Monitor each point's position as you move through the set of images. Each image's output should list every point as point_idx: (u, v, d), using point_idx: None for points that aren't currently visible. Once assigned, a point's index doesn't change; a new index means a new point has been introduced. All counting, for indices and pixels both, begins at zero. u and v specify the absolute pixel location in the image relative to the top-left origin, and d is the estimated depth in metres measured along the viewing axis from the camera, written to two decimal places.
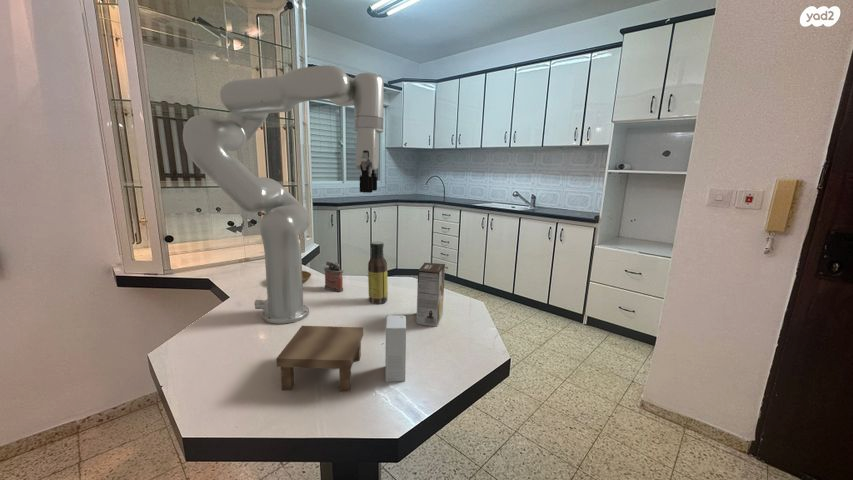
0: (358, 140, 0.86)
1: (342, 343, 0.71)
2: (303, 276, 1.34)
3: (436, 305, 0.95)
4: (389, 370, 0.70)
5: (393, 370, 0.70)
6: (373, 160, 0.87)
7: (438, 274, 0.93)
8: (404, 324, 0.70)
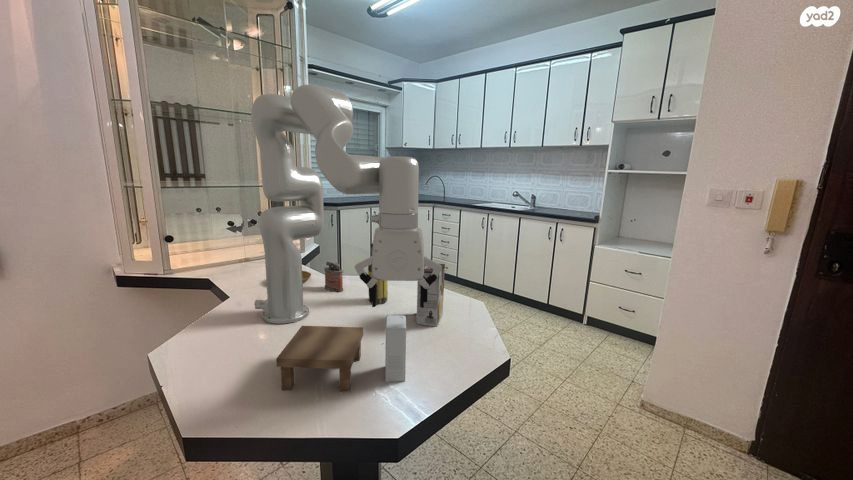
0: (422, 245, 0.66)
1: (342, 343, 0.71)
2: (303, 276, 1.34)
3: (436, 305, 0.95)
4: (389, 370, 0.70)
5: (393, 370, 0.70)
6: None
7: None
8: (404, 324, 0.70)
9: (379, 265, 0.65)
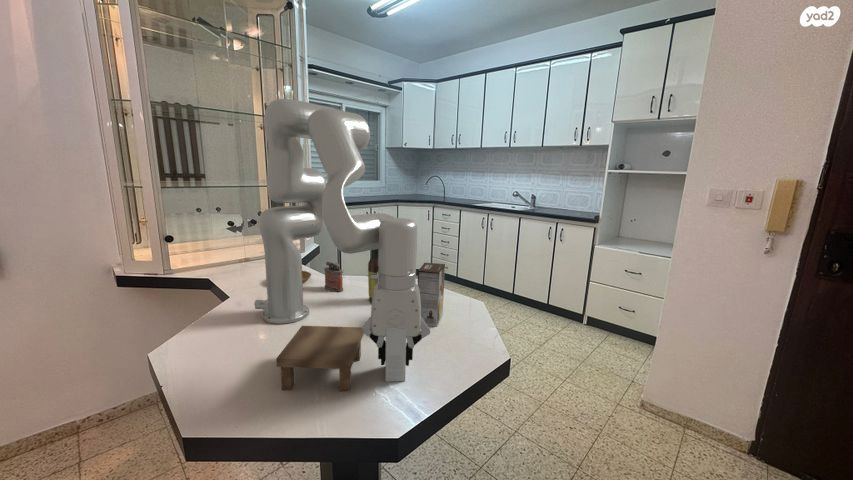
0: (419, 303, 0.68)
1: (342, 343, 0.71)
2: (303, 276, 1.34)
3: (436, 305, 0.95)
4: (389, 370, 0.70)
5: (393, 370, 0.70)
6: None
7: (438, 274, 0.93)
8: None
9: (377, 322, 0.68)
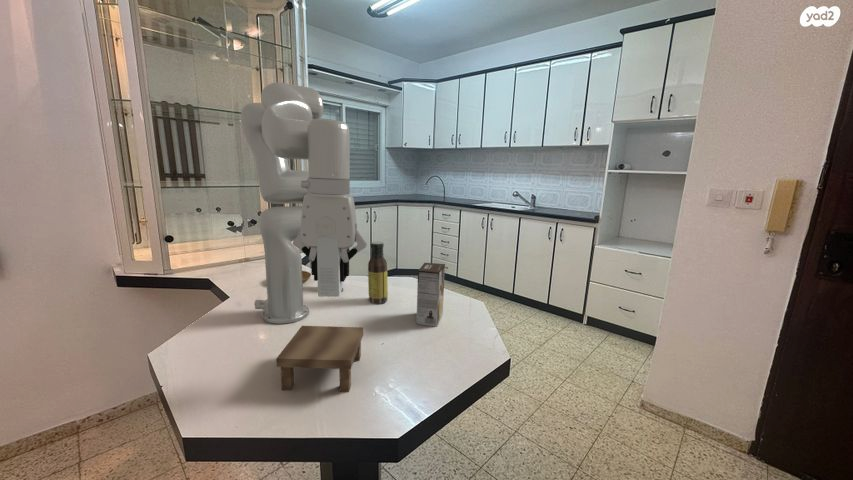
0: (352, 212, 0.65)
1: (342, 343, 0.71)
2: (303, 276, 1.34)
3: (436, 305, 0.95)
4: (322, 284, 0.66)
5: (326, 284, 0.66)
6: None
7: (438, 274, 0.93)
8: None
9: (307, 231, 0.64)
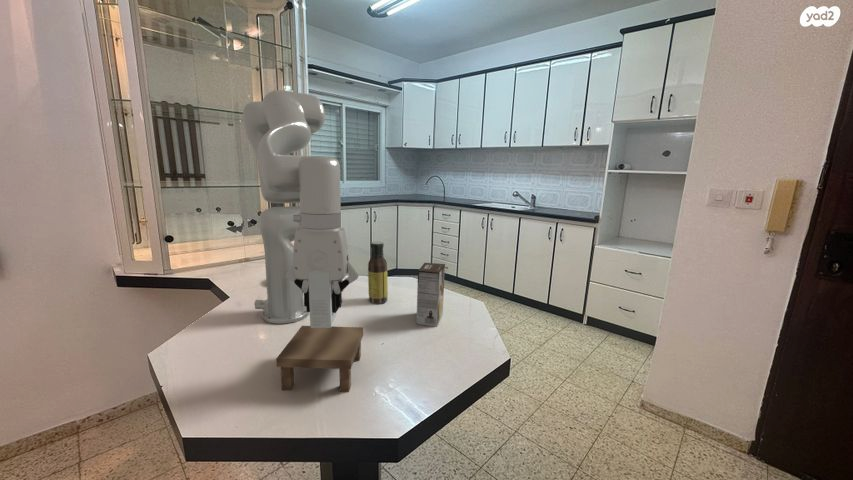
0: (343, 245, 0.66)
1: (342, 343, 0.71)
2: None
3: (436, 305, 0.95)
4: (314, 316, 0.67)
5: (318, 316, 0.67)
6: None
7: (438, 274, 0.93)
8: None
9: (299, 265, 0.65)
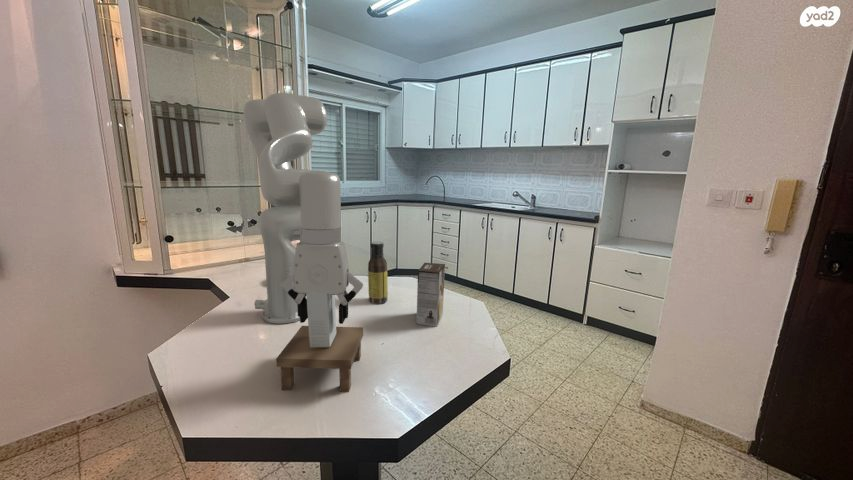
0: (343, 260, 0.66)
1: (342, 343, 0.71)
2: None
3: (436, 305, 0.95)
4: (313, 336, 0.68)
5: (317, 335, 0.68)
6: None
7: (438, 274, 0.93)
8: None
9: (300, 279, 0.66)
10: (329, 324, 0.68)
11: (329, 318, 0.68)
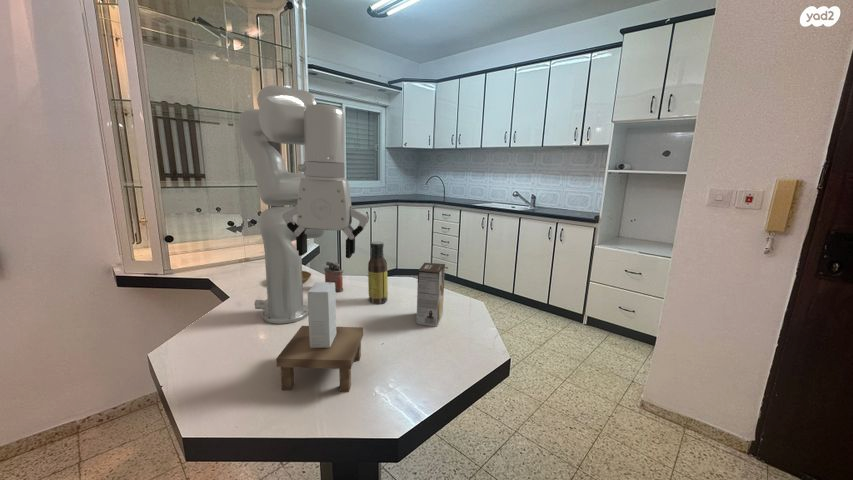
0: (346, 195, 0.67)
1: (342, 343, 0.71)
2: (303, 276, 1.34)
3: (436, 305, 0.95)
4: (313, 336, 0.68)
5: (317, 336, 0.68)
6: None
7: (438, 274, 0.93)
8: (328, 289, 0.68)
9: (303, 213, 0.67)
10: (329, 324, 0.68)
11: (330, 318, 0.68)
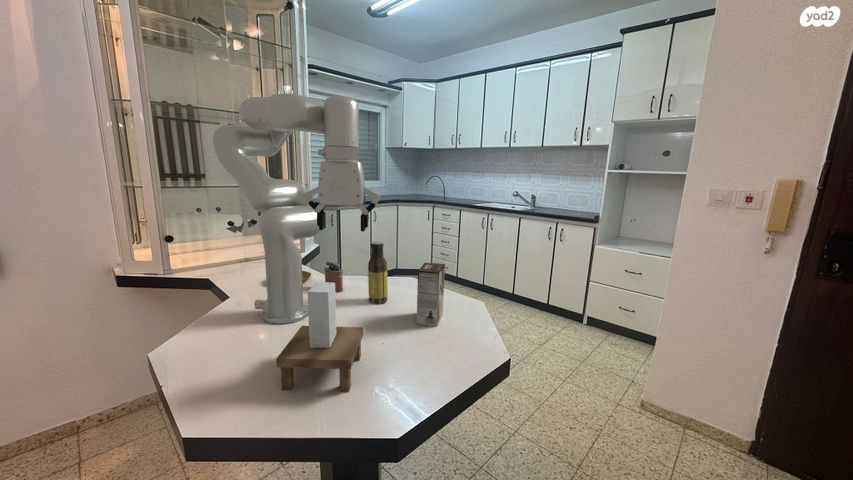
0: (361, 175, 0.77)
1: (342, 343, 0.71)
2: (303, 276, 1.34)
3: (436, 305, 0.95)
4: (313, 336, 0.68)
5: (317, 336, 0.68)
6: None
7: (438, 274, 0.93)
8: (328, 289, 0.68)
9: (324, 191, 0.77)
10: (329, 324, 0.68)
11: (330, 318, 0.68)
